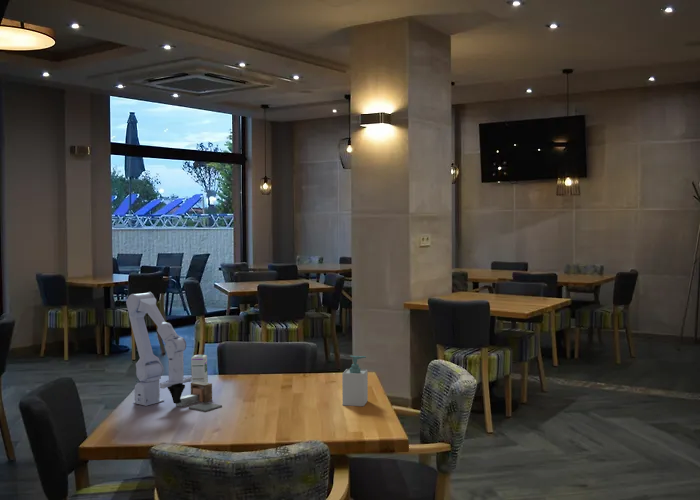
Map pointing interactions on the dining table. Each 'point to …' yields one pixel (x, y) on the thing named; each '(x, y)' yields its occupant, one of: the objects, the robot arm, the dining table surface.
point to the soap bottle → (355, 384)
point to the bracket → (206, 389)
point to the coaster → (205, 406)
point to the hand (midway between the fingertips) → (176, 403)
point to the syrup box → (199, 368)
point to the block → (199, 392)
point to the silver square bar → (189, 399)
